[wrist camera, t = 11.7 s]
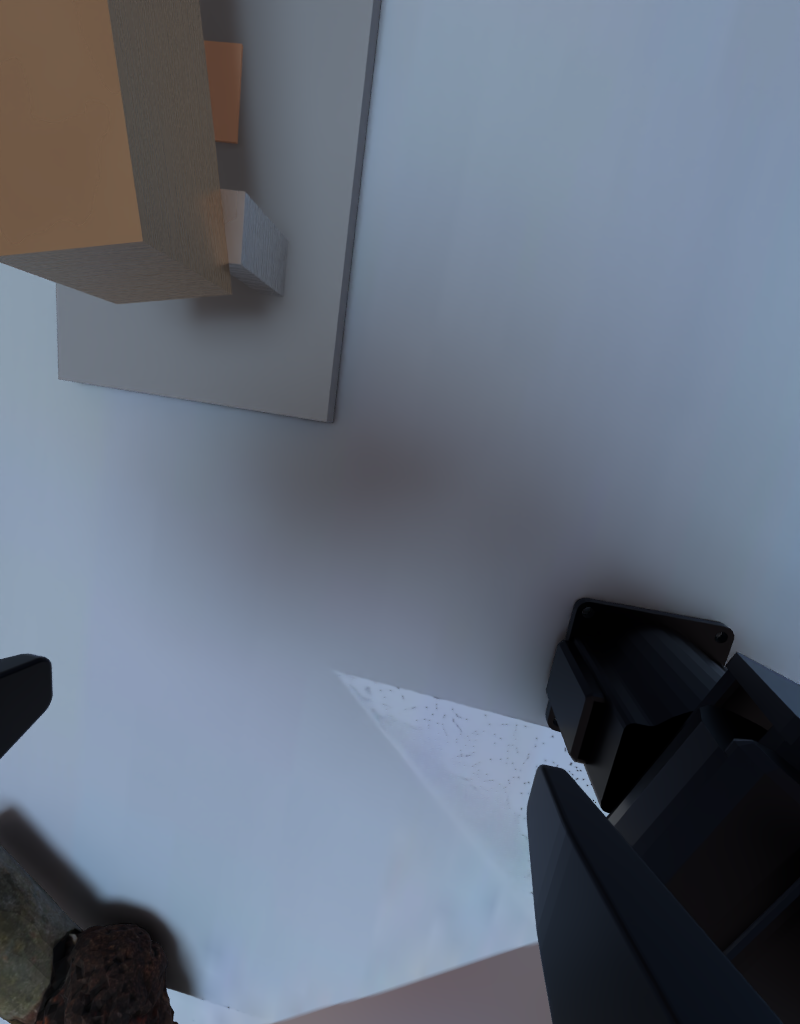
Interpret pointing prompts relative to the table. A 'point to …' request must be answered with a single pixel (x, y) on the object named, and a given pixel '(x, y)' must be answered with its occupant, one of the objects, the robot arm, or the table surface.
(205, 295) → the tan wooden bar
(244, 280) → the set of grey blocks
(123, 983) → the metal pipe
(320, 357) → the plate
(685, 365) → the table surface
